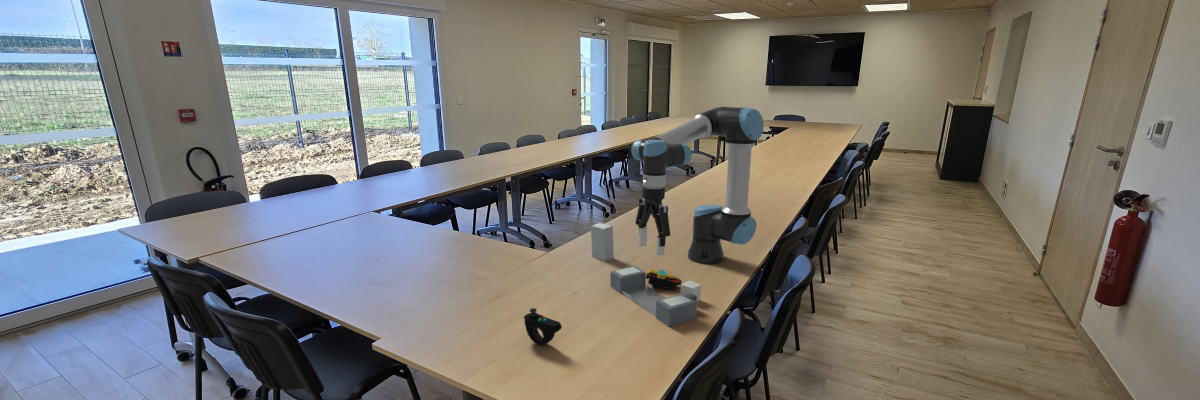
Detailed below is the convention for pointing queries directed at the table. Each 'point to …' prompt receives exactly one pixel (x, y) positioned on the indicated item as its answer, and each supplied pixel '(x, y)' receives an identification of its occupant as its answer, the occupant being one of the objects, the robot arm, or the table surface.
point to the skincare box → (602, 241)
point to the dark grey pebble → (692, 296)
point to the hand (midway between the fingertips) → (651, 250)
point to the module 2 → (676, 310)
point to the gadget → (662, 279)
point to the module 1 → (627, 278)
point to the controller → (540, 327)
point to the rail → (643, 297)
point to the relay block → (691, 289)
